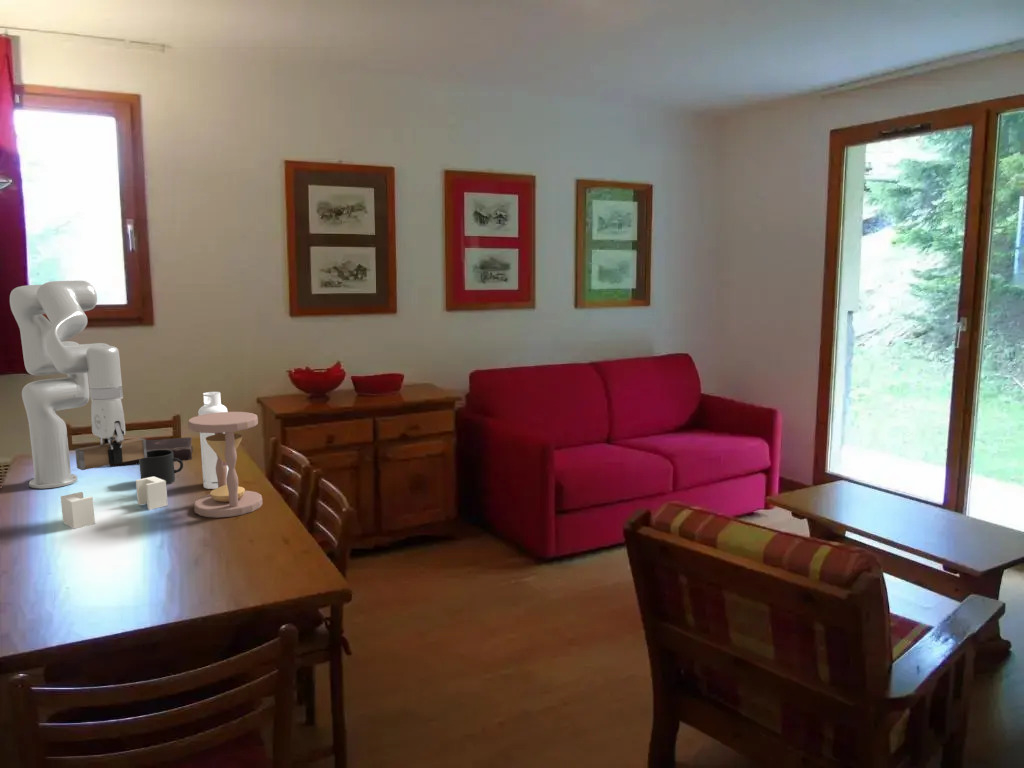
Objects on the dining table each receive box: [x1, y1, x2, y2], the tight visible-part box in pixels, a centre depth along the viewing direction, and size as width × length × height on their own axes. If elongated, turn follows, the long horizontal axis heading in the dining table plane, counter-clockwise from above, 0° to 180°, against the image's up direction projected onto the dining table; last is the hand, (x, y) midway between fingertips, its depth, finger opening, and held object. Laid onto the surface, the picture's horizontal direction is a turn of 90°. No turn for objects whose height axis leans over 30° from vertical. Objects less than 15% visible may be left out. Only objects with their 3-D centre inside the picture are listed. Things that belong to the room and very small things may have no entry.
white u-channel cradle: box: [60, 476, 169, 529], centre depth 204 cm, size 7×24×7 cm, turn 140°
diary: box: [108, 436, 194, 468], centre depth 263 cm, size 19×25×5 cm
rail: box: [74, 437, 147, 471], centre depth 202 cm, size 3×16×5 cm, turn 140°
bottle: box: [197, 391, 229, 490], centre depth 229 cm, size 8×8×28 cm
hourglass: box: [187, 411, 263, 519], centre depth 208 cm, size 18×18×25 cm
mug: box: [139, 450, 184, 486], centre depth 233 cm, size 9×12×9 cm
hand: (112, 461), depth 202 cm, fingers closed on rail, 3 cm apart
